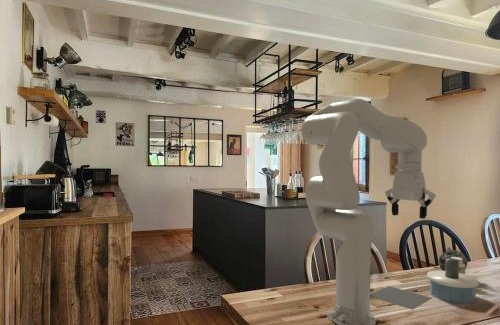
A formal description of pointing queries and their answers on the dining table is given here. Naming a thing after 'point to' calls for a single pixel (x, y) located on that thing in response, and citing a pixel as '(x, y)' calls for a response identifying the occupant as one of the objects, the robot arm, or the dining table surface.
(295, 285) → the dining table surface
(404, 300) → the mat
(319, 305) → the dining table surface
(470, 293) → the bowl
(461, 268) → the supplement bottle
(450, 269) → the lid
